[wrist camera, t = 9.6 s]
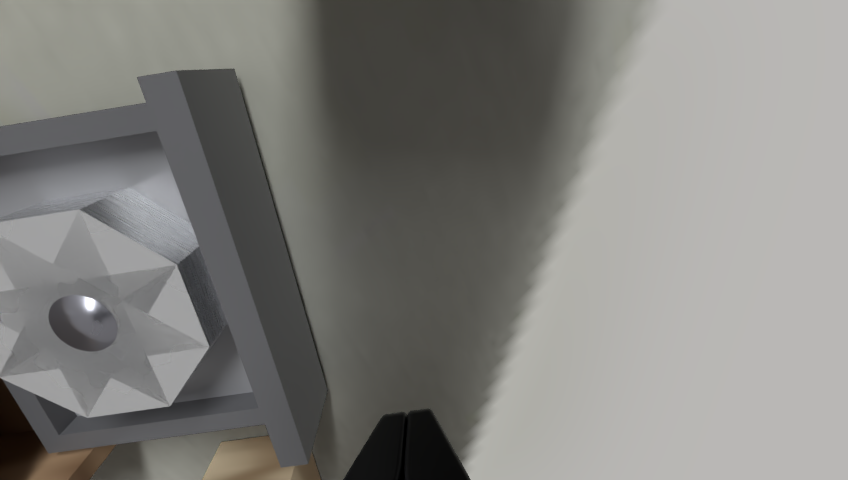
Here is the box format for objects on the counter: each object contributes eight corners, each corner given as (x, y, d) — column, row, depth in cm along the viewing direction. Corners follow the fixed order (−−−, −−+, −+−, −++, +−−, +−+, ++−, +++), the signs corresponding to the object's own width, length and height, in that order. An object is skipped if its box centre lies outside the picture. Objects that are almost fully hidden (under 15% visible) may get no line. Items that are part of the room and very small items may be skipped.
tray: (234, 68, 14) (175, 70, 11) (327, 390, 19) (308, 464, 16) (-76, 119, 15) (-229, 137, 11) (92, 423, 20) (22, 501, 16)
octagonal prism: (191, 177, 15) (149, 198, 12) (253, 353, 17) (229, 398, 15) (-14, 209, 15) (-91, 236, 12) (78, 379, 17) (28, 426, 15)
